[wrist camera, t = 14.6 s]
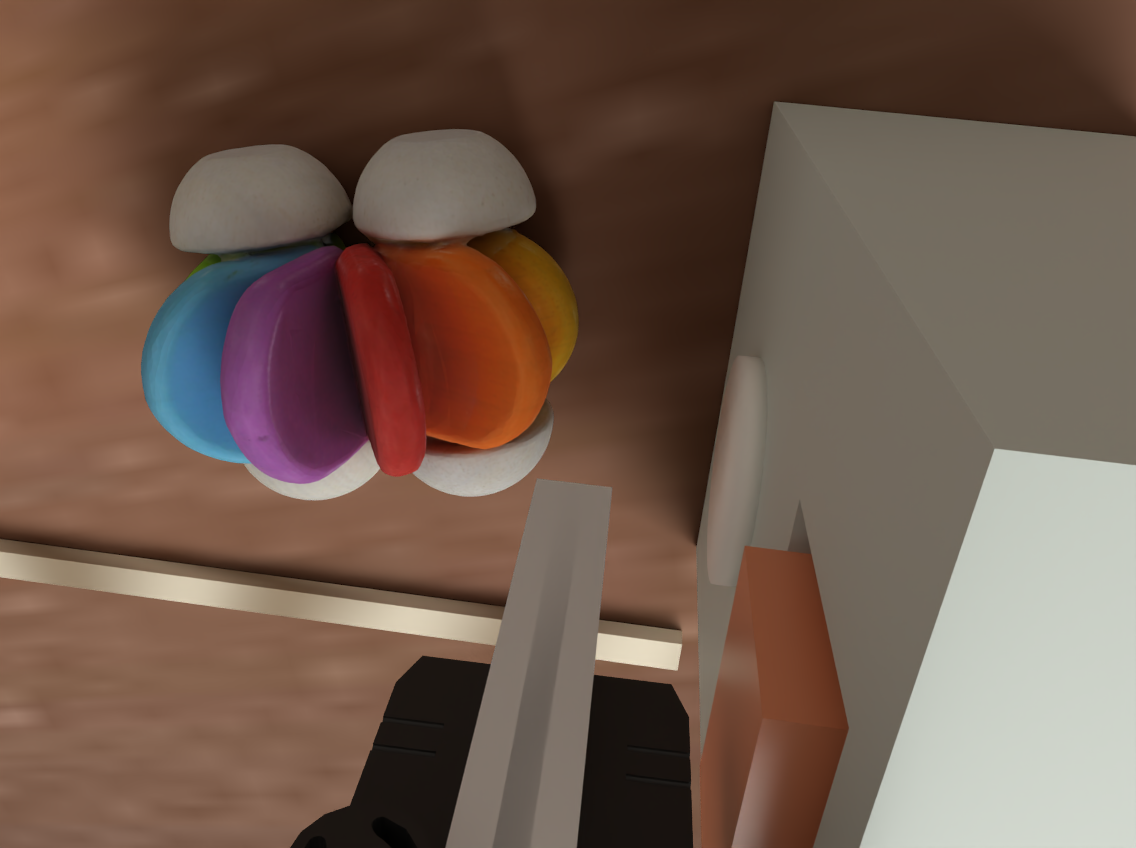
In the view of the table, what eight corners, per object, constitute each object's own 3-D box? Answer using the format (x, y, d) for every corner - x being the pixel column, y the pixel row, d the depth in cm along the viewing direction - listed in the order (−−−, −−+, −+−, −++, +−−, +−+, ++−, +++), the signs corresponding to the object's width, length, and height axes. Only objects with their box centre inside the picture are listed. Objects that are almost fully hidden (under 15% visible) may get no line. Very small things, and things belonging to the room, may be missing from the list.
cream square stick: (-104, 549, 29) (-119, 561, 28) (-112, 523, 29) (-127, 534, 28) (677, 656, 27) (677, 670, 27) (681, 630, 27) (681, 644, 26)
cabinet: (682, 546, 26) (680, 1276, 11) (755, 99, 20) (931, 441, 6) (986, 585, 25) (1380, 1401, 11) (1149, 137, 19) (2394, 615, 5)
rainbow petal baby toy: (598, 438, 24) (567, 609, 18) (259, 447, 26) (119, 609, 19) (570, 110, 21) (519, 177, 14) (175, 140, 22) (-33, 215, 16)
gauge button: (699, 765, 14) (703, 961, 11) (744, 545, 12) (762, 718, 9) (903, 794, 13) (958, 1002, 11) (982, 576, 11) (1071, 761, 9)
